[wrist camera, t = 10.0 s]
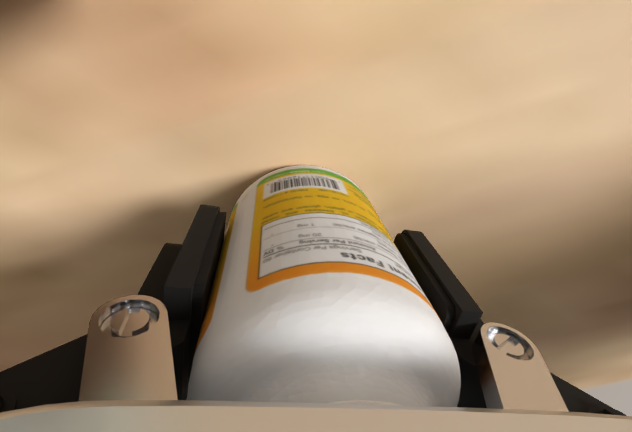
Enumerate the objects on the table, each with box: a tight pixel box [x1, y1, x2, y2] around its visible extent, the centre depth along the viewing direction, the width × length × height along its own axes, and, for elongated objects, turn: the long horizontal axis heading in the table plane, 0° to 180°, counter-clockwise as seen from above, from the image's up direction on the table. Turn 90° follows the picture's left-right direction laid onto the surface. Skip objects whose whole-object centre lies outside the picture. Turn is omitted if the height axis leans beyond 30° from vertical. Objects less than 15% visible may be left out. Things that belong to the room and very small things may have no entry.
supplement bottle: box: [187, 165, 461, 407], centre depth 9 cm, size 5×5×10 cm
